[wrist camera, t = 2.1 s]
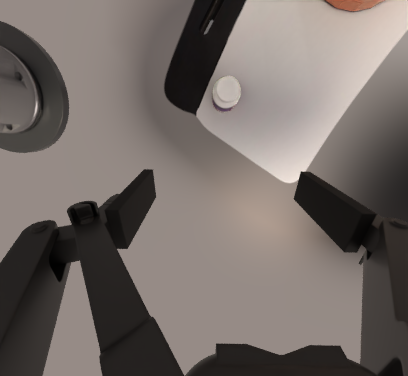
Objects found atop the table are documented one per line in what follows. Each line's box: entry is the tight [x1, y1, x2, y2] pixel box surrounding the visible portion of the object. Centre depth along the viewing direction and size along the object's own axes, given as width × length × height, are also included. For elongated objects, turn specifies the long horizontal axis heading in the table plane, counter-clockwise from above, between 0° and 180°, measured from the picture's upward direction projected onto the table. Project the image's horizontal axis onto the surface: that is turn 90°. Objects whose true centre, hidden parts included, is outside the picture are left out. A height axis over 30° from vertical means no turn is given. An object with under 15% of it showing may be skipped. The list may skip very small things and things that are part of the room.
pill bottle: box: [212, 76, 241, 113], centre depth 30 cm, size 5×5×8 cm
